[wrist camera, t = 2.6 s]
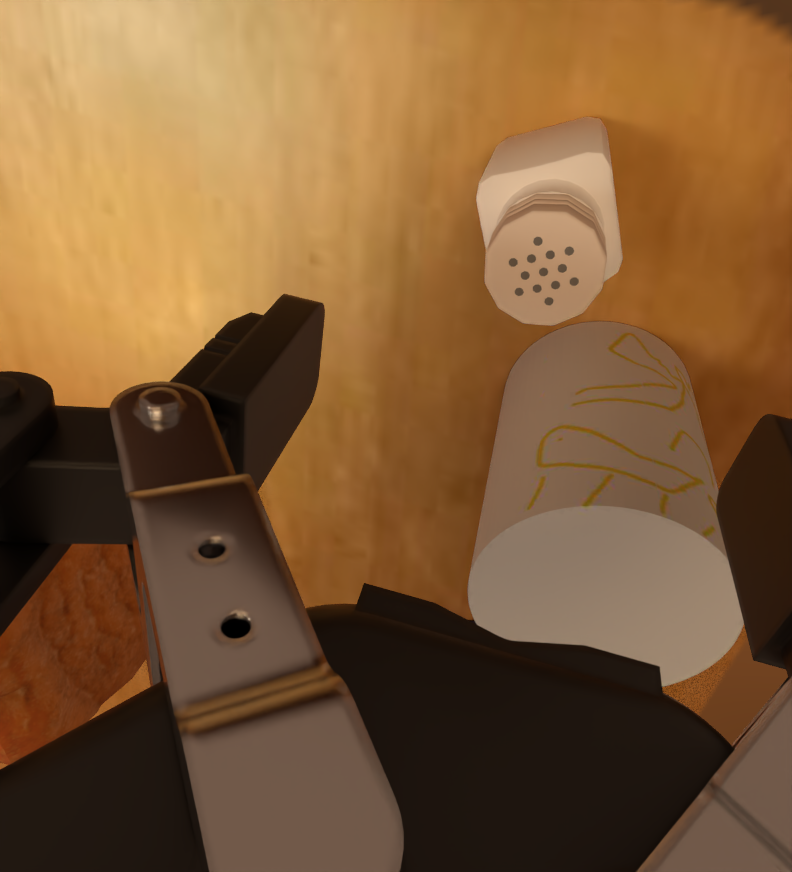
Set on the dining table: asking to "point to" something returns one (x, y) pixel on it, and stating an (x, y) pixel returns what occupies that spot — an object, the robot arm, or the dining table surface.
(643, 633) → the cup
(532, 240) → the salt shaker
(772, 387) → the dining table surface
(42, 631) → the bread
